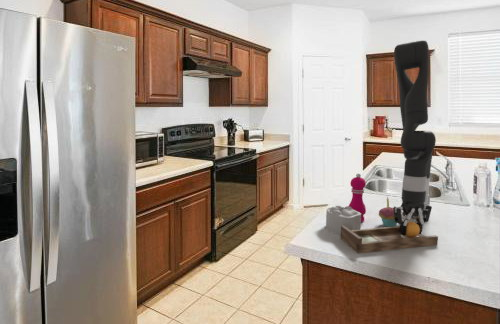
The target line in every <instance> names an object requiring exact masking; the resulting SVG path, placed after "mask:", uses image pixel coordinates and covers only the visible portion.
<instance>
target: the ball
mask: <svg viewBox="0 0 500 324" xmlns="http://www.w3.org/2000/svg"><path fill="white" fill-rule="evenodd" d="M416 223H417V222H414V221H413V220H412V221H411V220H409V221H408V222H407V224H406V226H407V229H406V236H408V237H416V236H417V235H418V234H419V232H420V228H419V226H418V224H416Z"/></svg>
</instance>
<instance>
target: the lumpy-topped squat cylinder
mask: <svg viewBox="0 0 500 324" xmlns="http://www.w3.org/2000/svg"><path fill="white" fill-rule="evenodd" d="M325 215H326V216H325V217H326V218H325V228H326V229H327V231H329V232H331V233H332V234H333V233H334V234H336V235H339V236H341V226H345V227H347V228H348V229H350V230H359V229H361V226H362V222H361V213H360V212H358V211H355V210H353V209H352V208H351V207H350V206H349V205H348V206H345V207H344V206H341V205H335V206H331V207H328V208H326V214H325Z"/></svg>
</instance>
